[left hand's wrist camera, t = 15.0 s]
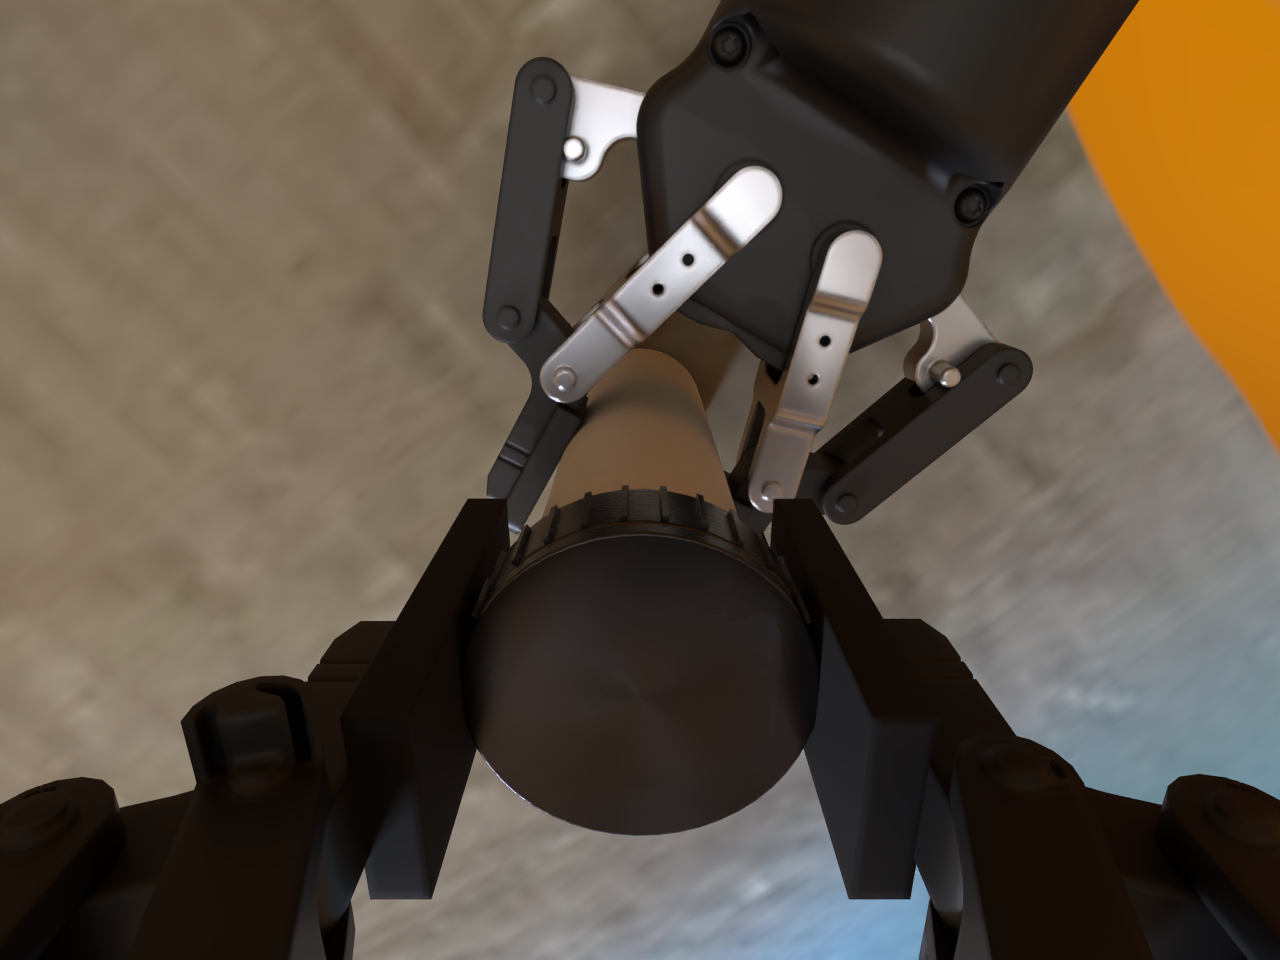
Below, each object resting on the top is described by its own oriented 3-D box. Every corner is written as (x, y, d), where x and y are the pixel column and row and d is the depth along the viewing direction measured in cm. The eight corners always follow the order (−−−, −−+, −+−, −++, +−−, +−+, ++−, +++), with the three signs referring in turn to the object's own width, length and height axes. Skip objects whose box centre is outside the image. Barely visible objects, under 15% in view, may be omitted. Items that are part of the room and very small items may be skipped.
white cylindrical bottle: (725, 406, 26) (838, 671, 11) (641, 487, 27) (644, 828, 12) (638, 321, 25) (634, 490, 10) (554, 410, 26) (442, 679, 11)
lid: (852, 534, 12) (886, 587, 10) (739, 793, 13) (752, 872, 12) (521, 441, 11) (501, 480, 10) (448, 723, 13) (421, 796, 11)
